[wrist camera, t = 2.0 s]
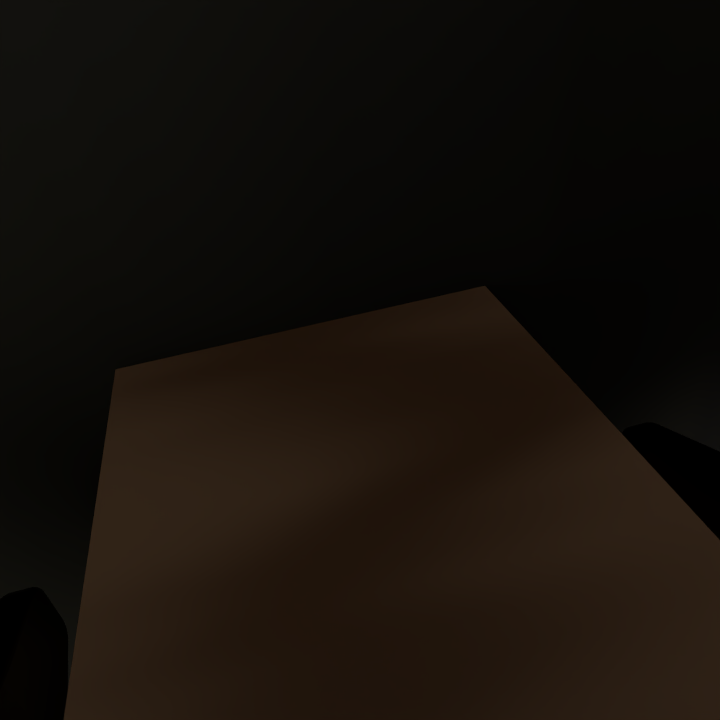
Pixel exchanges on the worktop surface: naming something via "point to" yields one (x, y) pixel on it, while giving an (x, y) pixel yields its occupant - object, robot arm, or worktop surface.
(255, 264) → the worktop surface
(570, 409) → the walnut block
